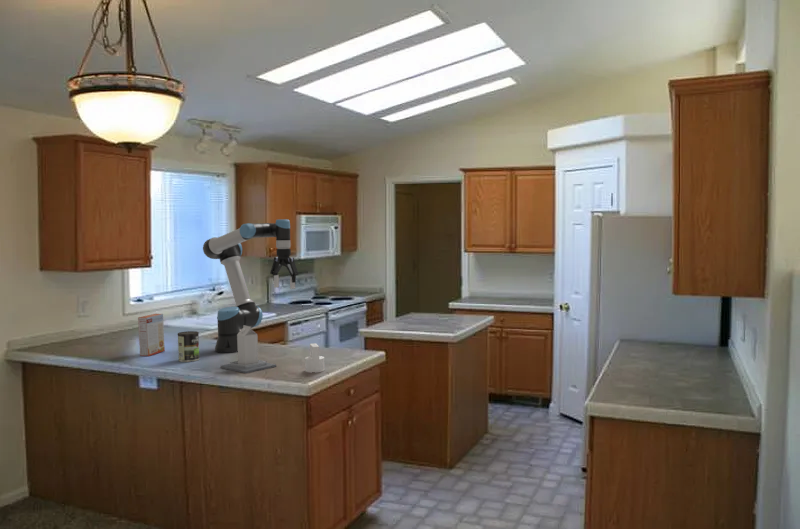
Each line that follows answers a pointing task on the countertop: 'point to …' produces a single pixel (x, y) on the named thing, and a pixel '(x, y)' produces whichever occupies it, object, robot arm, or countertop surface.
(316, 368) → the base with upright slab
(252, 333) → the milk carton
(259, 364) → the dock collar
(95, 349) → the countertop surface
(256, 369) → the board
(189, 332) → the coffee can
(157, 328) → the cracker box
